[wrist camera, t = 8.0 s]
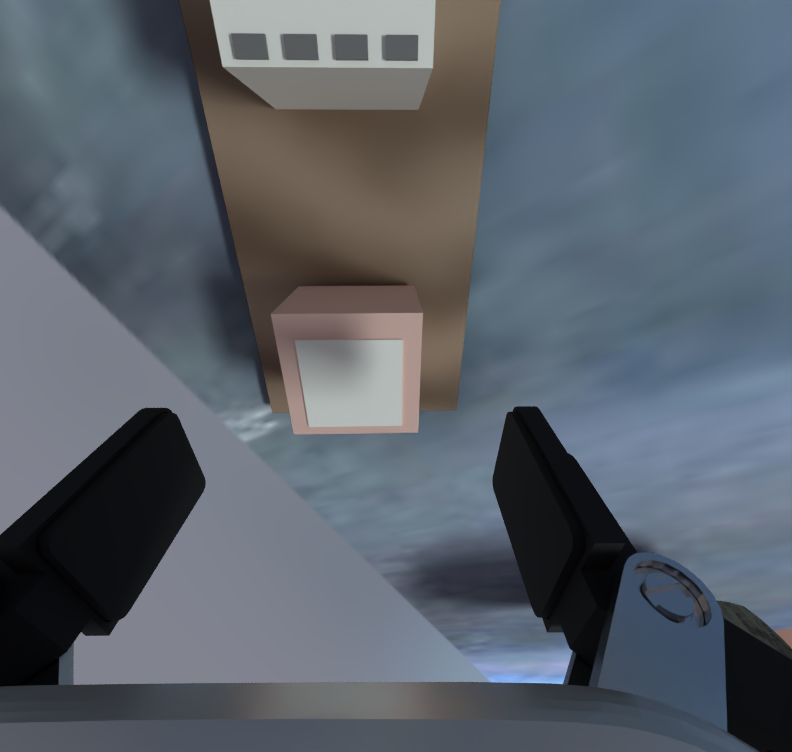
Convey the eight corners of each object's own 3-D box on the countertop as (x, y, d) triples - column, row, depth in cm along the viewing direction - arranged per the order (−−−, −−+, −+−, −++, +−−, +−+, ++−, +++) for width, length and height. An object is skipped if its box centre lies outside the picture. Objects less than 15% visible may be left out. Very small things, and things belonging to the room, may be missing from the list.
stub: (298, 286, 17) (270, 314, 13) (414, 285, 17) (423, 313, 13) (313, 385, 20) (293, 435, 15) (412, 384, 20) (418, 433, 16)
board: (-39, -1048, 6) (-96, -1213, 5) (599, -1003, 6) (625, -1155, 6) (276, 406, 22) (272, 412, 21) (453, 403, 22) (456, 410, 21)
